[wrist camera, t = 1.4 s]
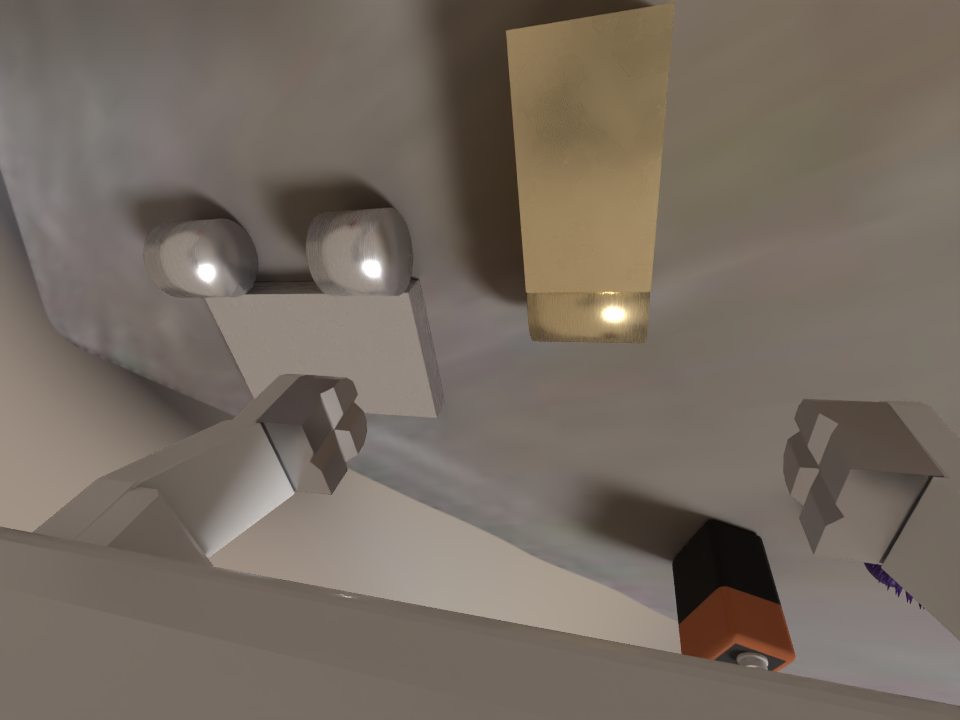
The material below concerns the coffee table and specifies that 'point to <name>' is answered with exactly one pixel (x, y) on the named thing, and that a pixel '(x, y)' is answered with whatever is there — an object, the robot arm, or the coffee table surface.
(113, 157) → the coffee table surface
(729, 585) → the battery
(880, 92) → the coffee table surface
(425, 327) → the plate with metal balls
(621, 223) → the gold bar
